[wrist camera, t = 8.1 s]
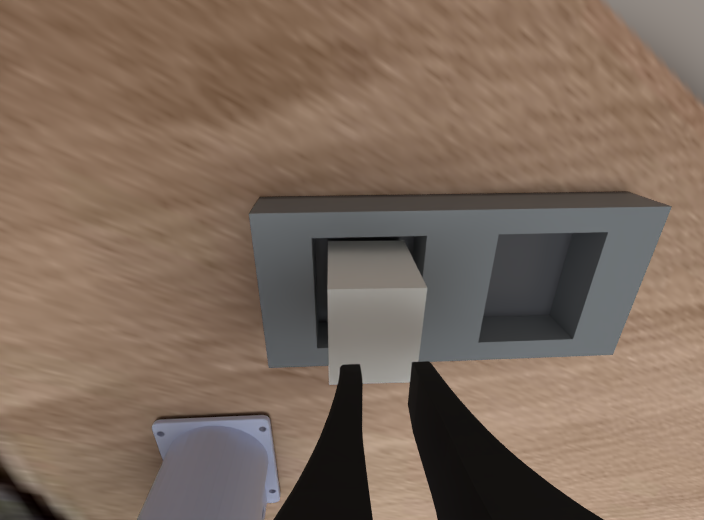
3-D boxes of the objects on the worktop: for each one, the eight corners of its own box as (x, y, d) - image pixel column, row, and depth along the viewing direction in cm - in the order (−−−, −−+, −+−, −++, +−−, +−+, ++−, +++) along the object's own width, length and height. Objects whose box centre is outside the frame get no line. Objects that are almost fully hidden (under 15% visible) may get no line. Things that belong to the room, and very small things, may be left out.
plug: (395, 311, 22) (415, 382, 16) (329, 312, 21) (329, 384, 16) (401, 234, 20) (427, 287, 14) (328, 235, 19) (327, 289, 14)
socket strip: (582, 326, 23) (612, 354, 21) (275, 336, 22) (268, 367, 20) (627, 191, 20) (671, 206, 17) (259, 196, 19) (248, 213, 16)
